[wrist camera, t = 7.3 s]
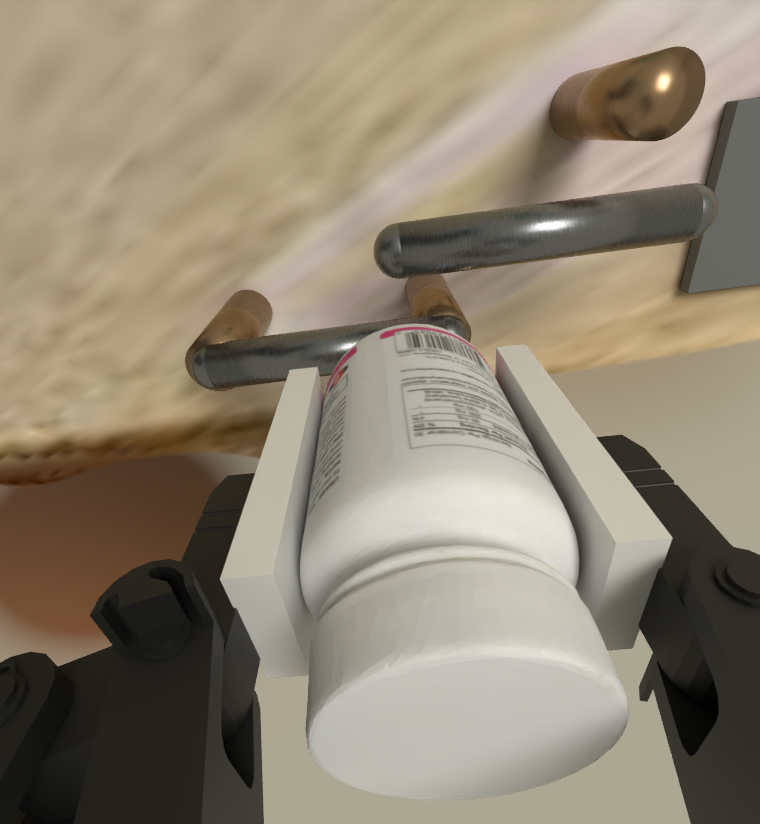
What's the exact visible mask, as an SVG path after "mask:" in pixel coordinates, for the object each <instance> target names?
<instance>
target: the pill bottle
mask: <svg viewBox="0 0 760 824" xmlns="http://www.w3.org/2000/svg"><path fill="white" fill-rule="evenodd" d="M579 565H580V560H579V548H578V542H577V537H576V533H575V530H574V528H573V525H572V523H571V520H570V518H569V515H568V513H567V511H566V509H565V507H564V505H563V503H562V501H561V499H560V497H559V495H558V493H557V492H556V490H555V488H554V486H553V484H552V482H551V481H550V479H549V477H548V475H547V473H546V471H545V469H544V467H543V466H542V464H541V462H540V460H539V458H538V457H537V455H536V453H535V451H534V449H533V447H532V445H531V443H530V441H529V439H528V437H527V436H526V434H525V432H524V430H523V429H522V426H521V424H520V422H519V420H518V418H517V417H516V415H515V413H514V411H513V410H512V408H511V406H510V404H509V402H508V400H507V398H506V397H505V395H504V393H503V391H502V389H501V388H500V386H499V384H498V382H497V380H496V378H495V376H494V374H493V372H492V370H491V368H490V367H489V365H488V364H487V362H486V361H485V359H484V358H483V357H482V355H481V354H480V353H479V352H478V351H477V350H476V348H474V347H473V346H472V345H471V344H470V343H469V342H468V341H466V340H465V339H463V338H462V337H460V336H459V335H457V334H455V333H453V332H451V331H449V330H447V329H444V328H441V327H437V326H433V325H428V324H402V325H397V326H392V327H388V328H385V329H382V330H379V331H377V332H374V333H372V334H370V335H368V336H367V337H365V338H363V339H362V340H360V341H359V342H357V343H356V344H355V345H353V346H352V347H351V348H350V349H349V350H348V351H347V352H346V353H345V354H344V356H343V357H342V358H341V359H340V361H339V362H338V364H337V365H336V367H335V369H334V371H333V373H332V375H331V377H330V380H329V383H328V386H327V389H326V394H325V399H324V404H323V412H322V418H321V427H320V431H319V440H318V446H317V454H316V461H315V467H314V473H313V478H312V483H311V488H310V497H309V503H308V509H307V515H306V522H305V529H304V534H303V540H302V548H301V557H300V583H301V589H302V594H303V597H304V600H305V603H306V605H307V607H308V609H309V611H310V613H311V615H312V616H313V618H314V620H315V621H316V625H315V630H314V632H313V634H312V638H311V641H310V649H309V686H308V705H307V718H306V737H307V744H308V749H309V751H310V753H311V755H312V756H313V758H314V760H315V761H316V762H317V764H318V765H319V766H321V767H322V768H323V769H324V770H325V771H327V772H328V773H329V774H330V775H332V776H333V777H335V778H337V779H339V780H340V781H342V782H344V783H346V784H348V785H350V786H353V787H356V788H359V789H362V790H364V791H367V792H372V793H376V794H381V795H386V796H393V797H401V798H409V799H419V800H468V799H476V798H485V797H493V796H499V795H506V794H511V793H516V792H520V791H524V790H528V789H531V788H535V787H539V786H542V785H545V784H548V783H551V782H554V781H556V780H559V779H561V778H564V777H566V776H568V775H571V774H573V773H575V772H577V771H579V770H581V769H583V768H584V767H586V766H588V765H590V764H591V763H593V762H595V761H596V760H598V759H599V758H600V757H601V756H602V755H604V753H606V752H607V751H608V750H610V749H611V748H612V747H613V746H614V745H615V743H616V742H617V741H618V739H619V738H620V737H621V736H622V734H623V732H624V730H625V728H626V725H627V721H628V715H629V709H628V703H627V698H626V695H625V691H624V688H623V686H622V684H621V682H620V679H619V677H618V675H617V672H616V670H615V668H614V665H613V663H612V661H611V658H610V656H609V653H608V651H607V649H606V646H605V644H604V641H603V639H602V636H601V634H600V632H599V630H598V628H597V626H596V623H595V621H594V619H593V617H592V615H591V613H590V611H589V609H588V608H587V607H586V605H585V604H584V603H583V601H582V600H581V599H580V597H579V595H578V593H577V590H576V589H575V587H576V584H577V580H578V575H579Z"/></svg>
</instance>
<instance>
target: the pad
mask: <svg viewBox="0 0 760 824" xmlns="http://www.w3.org/2000/svg"><path fill="white" fill-rule="evenodd" d="M706 186H707V187H709V188H710V189H711V190H712V191H713V192H714V193H715V195H716V197H717V200H718V213H717V216H716V218H715V220H714V222H713V224H712V225H711V226H710V227H709V228H708V229H707V230H706V231H705V232H704V233H703V234H701V235H700V236H699V237H697V238H694V239H692V242H691V246H690V250H689V254H688V258H687V262H686V266H685V270H684V274H683V278H682V282H681V286H680V290H682V291H684V292H686V293H694V292H702V291H710V290H718V289H726V288H734V287H742V286H750V285H758V284H760V97H758V98H751V99H744V100H737V101H730V102H727V104H726V108H725V111H724V115H723V119H722V123H721V127H720V131H719V135H718V139H717V143H716V147H715V151H714V155H713V159H712V163H711V167H710V171H709V175H708V179H707V183H706Z"/></svg>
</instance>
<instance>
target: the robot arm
mask: <svg viewBox="0 0 760 824" xmlns="http://www.w3.org/2000/svg"><path fill="white" fill-rule="evenodd" d="M495 378H496V380H497V382H498V384H499V386H500V388H501V389H502V391H503V393H504V395H505V397H506V398H507V400H508V402H509V404H510V406H511V408H512V410H513V411H514V413H515V415H516V417H517V418H518V420H519V422H520V424H521V426H522V429H523V430H524V432H525V434H526V436H527V437H528V439H529V441H530V443H531V445H532V447H533V449H534V451H535V453H536V455H537V457H538V458H539V460H540V462H541V464H542V466H543V467H544V469H545V471H546V473H547V475H548V477H549V479H550V481H551V482H552V484H553V486H554V488H555V490H556V492H557V493H558V495H559V497H560V499H561V501H562V503H563V505H564V507H565V509H566V511H567V513H568V515H569V518H570V520H571V523H572V525H573V528H574V530H575V533H576V537H577V542H578V548H579V560H580V565H579V575H578V580H577V584H576V587H575V589H576V590H577V593H578V595H579V597H580V599H581V600H582V601H583V603H584V604H585V605H586V607H587V608H588V609H589V611H590V613H591V615H592V617H593V619H594V621H595V623H596V626H597V628H598V630H599V632H600V634H601V636H602V639H603V641H604V644H605V646H606V649H607V650H619V649H631V648H633V646H634V643H635V640H636V637H637V634H638V632H639V629H640V630H641V631H642V633H643V635H644V637H645V639H646V640H647V642H648V644H649V646H650V648H651V649H652V651H653V654H652V656H651V659H650V661H649V664H648V666H647V669H646V671H645V674H644V676H643V678H642V681H641V683H640V686H639V693H640V700H641V701H646V702H647V701H648V699H649V697H650V694H651V692H652V690H654V693H655V697H656V700H657V704H658V708H659V711H660V715H661V718H662V722H663V725H664V729H665V733H666V736H667V740H668V744H669V747H670V751H671V754H672V758H673V761H674V765H675V768H676V772H677V776H678V779H679V783H680V787H681V790H682V794H683V797H684V801H685V804H686V808H687V812H688V815H689V819H690V822H691V824H760V555H758V554H756V553H754V552H751V551H749V550H745V549H740V548H735V547H733V546H732V545H731V544H730V543H729V542H728V541H727V540H726V539H725V538H724V537H723V536H722V534H721V533H720V532H719V531H718V530H717V529H716V528H715V527H714V525H713V524H712V523H711V522H710V521H709V520H708V519H707V518H706V516H704V514H703V513H702V512H701V511H700V510H699V509H698V507H697V506H696V505H695V504H694V503H693V502H692V501H691V500H690V499H689V497H688V496H687V495H686V494H685V493H684V492H683V491H682V490H681V488H680V487H679V486H678V485H675V484H674V481H673V480H672V478H671V477H670V476H669V475H668V474H667V473H666V472H665V470H661V466H660V465H659V464H658V463H657V462H656V460H655V459H654V458H653V457H652V456H651V455H650V454H649V453H648V452H647V450H646V449H645V448H643V447H641V446H640V445H638V444H636V443H635V442H633V441H631V440H630V439H628V438H626V437H625V436H623V435H615V436H604V437H596V436H595V435H594V434H593V432H592V431H591V430H590V428H589V427H588V426H587V425H586V423H585V422H584V421H583V419H582V418H581V417H580V415H579V414H578V413H577V411H576V410H575V409H574V408H573V406H572V405H571V404H570V402H569V401H568V400H567V398H566V397H565V396H564V394H563V393H562V392H561V390H560V389H559V388H558V387H557V385H556V384H555V383H554V382H553V380H552V379H551V377H550V376H549V375H548V373H547V372H546V371H545V369H544V368H543V367H542V365H541V364H540V363H539V361H538V360H537V359H536V358H535V356H534V355H533V354H532V352H531V351H530V350H529V348H528V347H527V346H526V344H522V345H513V346H504V347H496V373H495ZM323 404H324V395H323V391H322V386H321V381H320V376H319V371H318V367H312V368H302V369H293V370H290V371H289V374H288V377H287V380H286V383H285V386H284V389H283V392H282V395H281V398H280V401H279V404H278V407H277V410H276V413H275V416H274V419H273V422H272V425H271V428H270V431H269V434H268V437H267V440H266V443H265V446H264V449H263V452H262V455H261V458H260V461H259V464H258V467H257V470H256V473H252V474H241V475H231V476H227V477H226V478H225V479H224V480H223V481H222V482H221V483H220V484H219V485H218V486H217V487H216V488H215V489H214V491H213V492H212V493H211V494H210V496H209V499H208V501H207V503H206V506H205V508H204V510H203V516H201V517H200V519H199V522H198V524H197V526H196V528H195V530H196V532H195V533H193V535H192V537H191V540H190V542H189V544H188V546H187V549H186V551H185V553H184V556H183V558H182V560H181V562H179V561H175V560H171V559H167V560H159V561H152V562H149V563H147V564H145V565H142V566H140V567H137V568H135V569H132V570H131V571H129V572H128V573H127V574H125V575H124V576H122V577H121V578H119V579H118V580H116V581H115V582H114V583H113V584H112V585H111V586H110V587H109V588H108V589H107V590H106V591H105V592H104V593H103V594H102V596H101V597H100V598H99V599H98V601H97V603H96V605H95V607H94V609H93V611H92V613H91V614H90V616H91V618H92V619H93V620H94V622H95V623H96V624H97V625H98V627H99V628H100V629H101V630H102V632H103V633H104V634H105V636H106V637H107V638H108V639H109V641H110V642H111V643H112V646H110V647H108V648H106V649H103V650H100V651H98V652H95V653H92V654H90V655H87V656H85V657H82V658H79V659H77V660H74V661H72V662H69V663H66V664H64V665H61V666H59V667H58V666H56V665H55V663H54V662H53V661H52V660H51V659H50V658H49V657H48V656H47V655H46V654H43V653H35V652H28V653H24V654H20V655H17V656H13V657H10V658H8V659H6V660H4V661H3V662H1V663H0V824H264V817H263V785H262V784H263V783H262V752H261V720H260V706H259V702H258V697H257V694H256V692H255V690H254V687H255V683H256V678H257V673H258V667H259V663H260V665H261V666H262V669H263V671H264V673H265V675H266V677H267V678H280V677H292V676H305V675H309V649H310V641H311V638H312V634H313V632H314V630H315V624H316V621H315V620H314V618H313V616H312V615H311V613H310V611H309V609H308V607H307V605H306V603H305V600H304V597H303V594H302V589H301V583H300V557H301V548H302V540H303V534H304V529H305V522H306V515H307V509H308V503H309V497H310V488H311V483H312V478H313V473H314V467H315V461H316V454H317V446H318V440H319V431H320V427H321V418H322V412H323Z"/></svg>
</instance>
